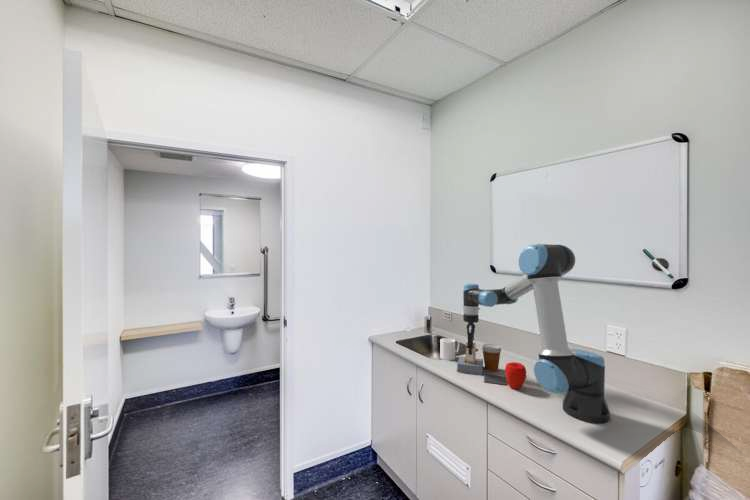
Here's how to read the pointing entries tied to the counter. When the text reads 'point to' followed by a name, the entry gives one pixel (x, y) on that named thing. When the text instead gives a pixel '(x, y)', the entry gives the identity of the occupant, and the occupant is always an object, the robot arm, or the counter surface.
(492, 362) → the disposable coffee cup
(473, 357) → the tall drinking glass
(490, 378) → the pad
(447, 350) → the cup
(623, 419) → the counter surface
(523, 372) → the apple
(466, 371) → the gray square block
